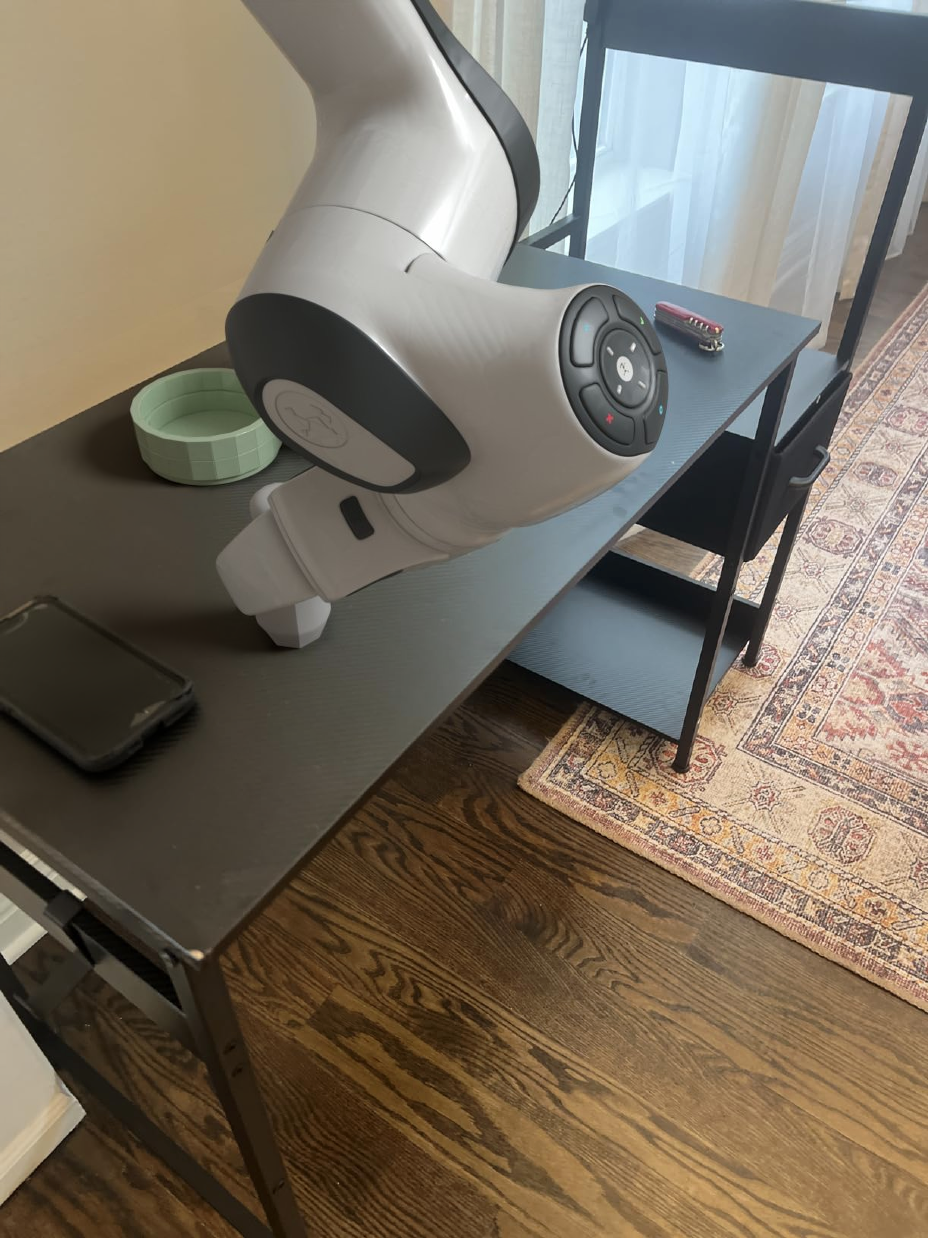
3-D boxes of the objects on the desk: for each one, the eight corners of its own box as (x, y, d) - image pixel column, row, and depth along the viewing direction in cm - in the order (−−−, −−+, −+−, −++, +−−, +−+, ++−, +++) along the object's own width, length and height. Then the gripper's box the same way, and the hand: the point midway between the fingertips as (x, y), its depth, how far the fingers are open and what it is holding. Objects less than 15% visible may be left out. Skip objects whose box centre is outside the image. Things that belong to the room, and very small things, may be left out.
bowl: (155, 500, 85) (144, 453, 81) (130, 426, 94) (119, 381, 90) (300, 470, 89) (295, 424, 86) (262, 401, 98) (257, 358, 95)
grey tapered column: (243, 642, 72) (219, 505, 63) (281, 597, 76) (263, 462, 67) (310, 665, 70) (295, 527, 61) (345, 617, 74) (336, 482, 65)
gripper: (535, 367, 55) (423, 441, 67) (246, 500, 45) (173, 560, 56) (582, 462, 56) (464, 518, 68) (310, 615, 45) (225, 651, 57)
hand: (330, 539), depth 62 cm, fingers open, 8 cm apart
